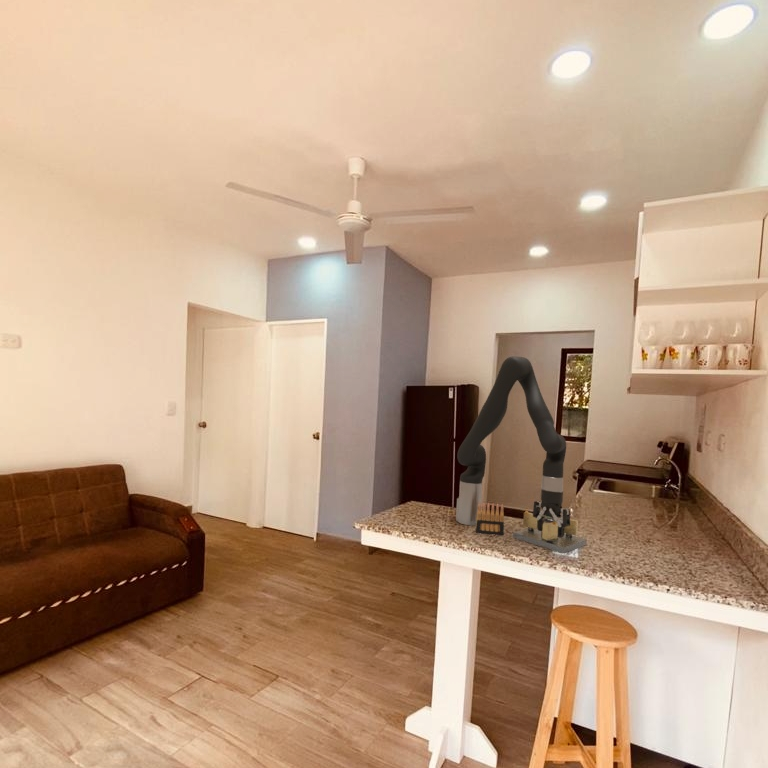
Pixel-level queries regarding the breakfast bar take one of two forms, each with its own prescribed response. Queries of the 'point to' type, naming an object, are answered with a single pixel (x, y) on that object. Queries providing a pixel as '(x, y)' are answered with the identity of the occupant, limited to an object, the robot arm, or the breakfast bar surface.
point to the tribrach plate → (558, 544)
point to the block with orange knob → (530, 521)
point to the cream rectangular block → (571, 528)
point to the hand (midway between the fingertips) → (550, 533)
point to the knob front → (550, 531)
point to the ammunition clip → (490, 520)
